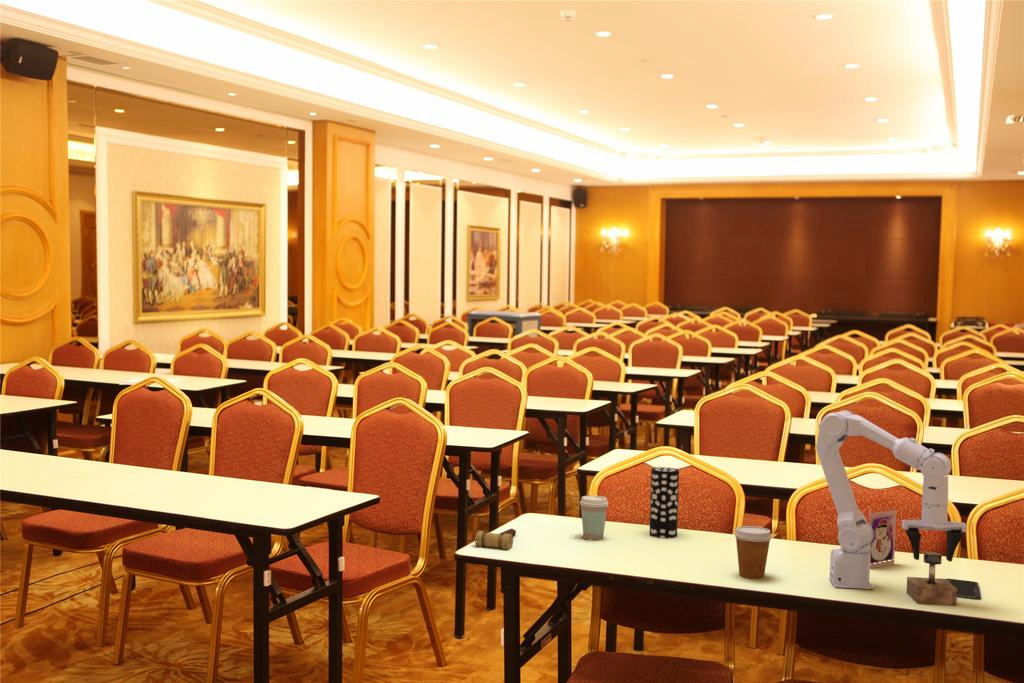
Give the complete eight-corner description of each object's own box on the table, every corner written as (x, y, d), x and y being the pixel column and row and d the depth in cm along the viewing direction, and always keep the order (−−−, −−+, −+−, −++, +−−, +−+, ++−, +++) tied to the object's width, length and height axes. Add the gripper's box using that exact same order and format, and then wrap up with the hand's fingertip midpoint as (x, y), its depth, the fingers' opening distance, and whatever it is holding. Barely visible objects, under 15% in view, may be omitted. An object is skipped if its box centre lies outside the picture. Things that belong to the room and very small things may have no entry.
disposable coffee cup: (744, 581, 257) (746, 534, 257) (726, 571, 266) (727, 526, 266) (777, 579, 260) (779, 533, 259) (758, 569, 269) (760, 525, 269)
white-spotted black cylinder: (676, 539, 302) (678, 472, 301) (648, 537, 304) (650, 471, 303) (677, 532, 310) (679, 468, 310) (650, 531, 312) (652, 466, 311)
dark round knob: (925, 585, 244) (926, 555, 243) (920, 580, 247) (921, 551, 247) (942, 586, 243) (943, 556, 243) (937, 581, 247) (938, 552, 247)
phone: (945, 593, 249) (945, 577, 262) (945, 597, 249) (945, 582, 262) (981, 597, 246) (978, 581, 259) (981, 601, 246) (978, 586, 259)
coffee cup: (608, 541, 297) (609, 500, 296) (579, 540, 297) (580, 500, 297) (606, 534, 305) (607, 495, 305) (578, 534, 306) (579, 494, 305)
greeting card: (870, 569, 272) (872, 514, 272) (847, 563, 278) (849, 509, 278) (896, 564, 278) (898, 510, 278) (873, 558, 285) (875, 505, 284)
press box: (917, 603, 241) (917, 586, 241) (906, 592, 250) (907, 576, 250) (956, 605, 240) (957, 588, 240) (944, 594, 249) (944, 578, 249)
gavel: (499, 522, 306) (531, 525, 303) (499, 537, 306) (530, 540, 303) (475, 531, 286) (508, 535, 283) (474, 548, 286) (507, 551, 283)
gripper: (908, 505, 241) (906, 562, 242) (971, 508, 240) (969, 565, 240) (900, 500, 248) (898, 555, 249) (961, 502, 247) (959, 558, 247)
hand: (932, 559), depth 245 cm, fingers open, 7 cm apart
